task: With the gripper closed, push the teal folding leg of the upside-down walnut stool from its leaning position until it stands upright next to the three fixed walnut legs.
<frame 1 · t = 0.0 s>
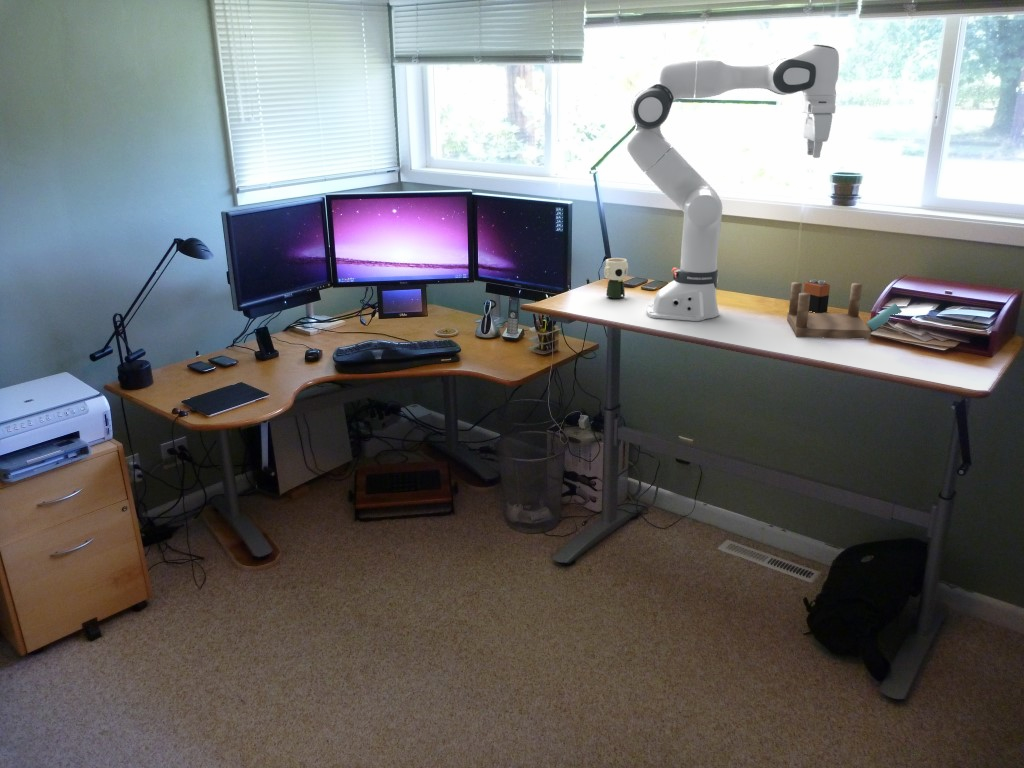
hand: (813, 156, 243), 48 cm above the table, tool pointing down, fingers open, 8 cm apart
battery: (814, 311, 265), on the table
folding leg: (884, 317, 235), point 6 cm above the table, hinge at 50.0°
stool: (826, 329, 245), on the table
character mug: (615, 298, 286), on the table
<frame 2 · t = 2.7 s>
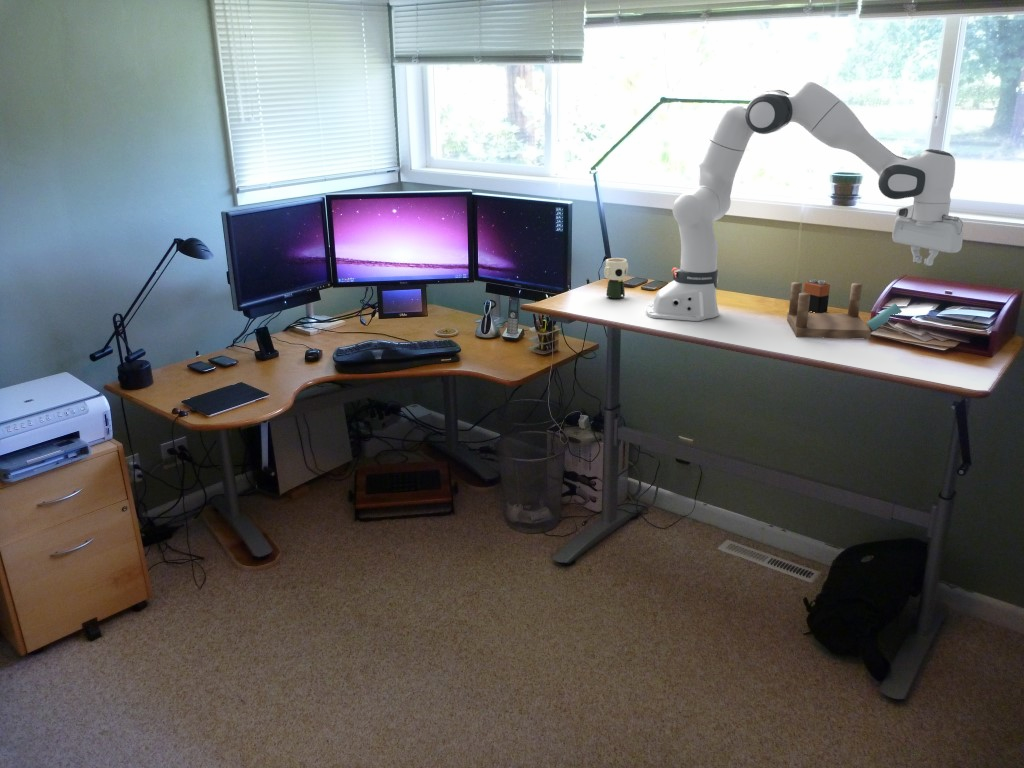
hand: (922, 263, 228), 21 cm above the table, tool pointing down, fingers closed
nothing on the table moved.
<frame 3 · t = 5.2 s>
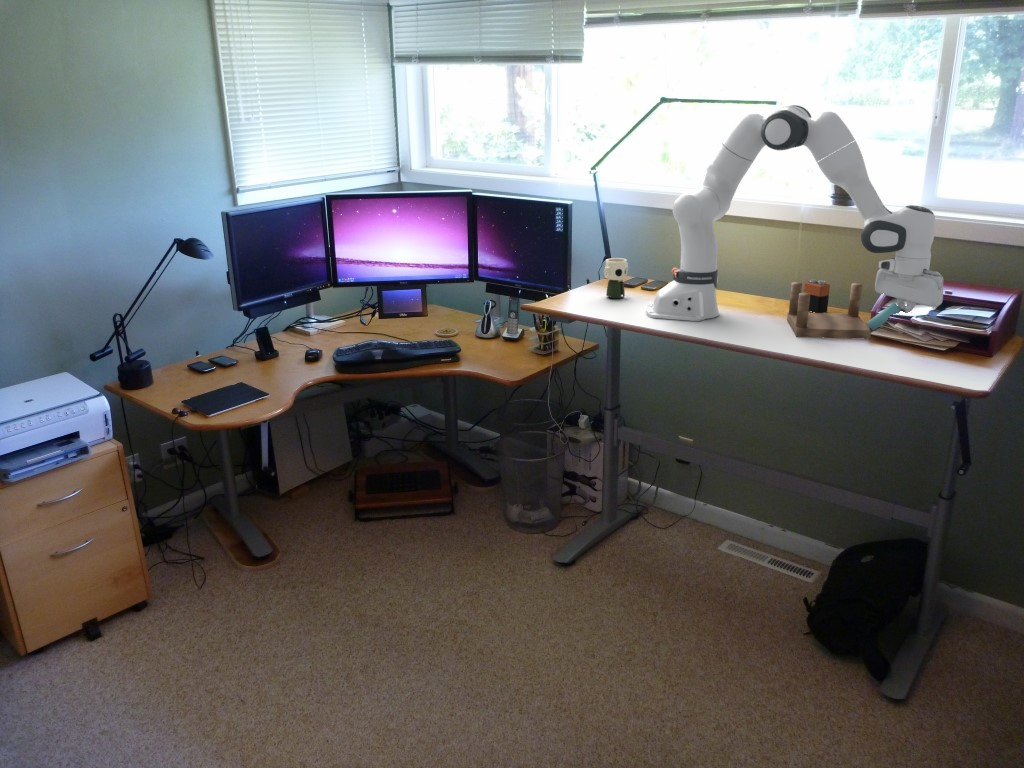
hand: (904, 315, 234), 7 cm above the table, tool pointing down, fingers closed
folding leg: (883, 316, 235), point 6 cm above the table, hinge at 47.6°, touching gripper
everything else where it was.
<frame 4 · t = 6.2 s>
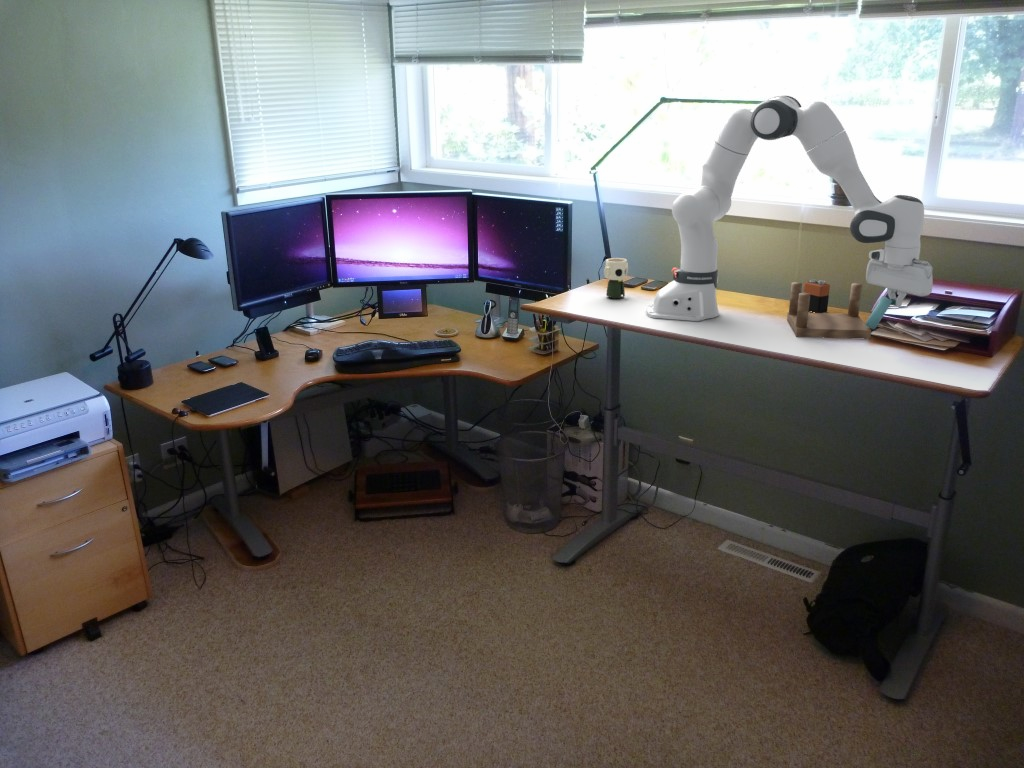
hand: (895, 305, 233), 9 cm above the table, tool pointing down, fingers closed
folding leg: (878, 312, 234), point 7 cm above the table, hinge at 23.9°, touching gripper
everything else where it was.
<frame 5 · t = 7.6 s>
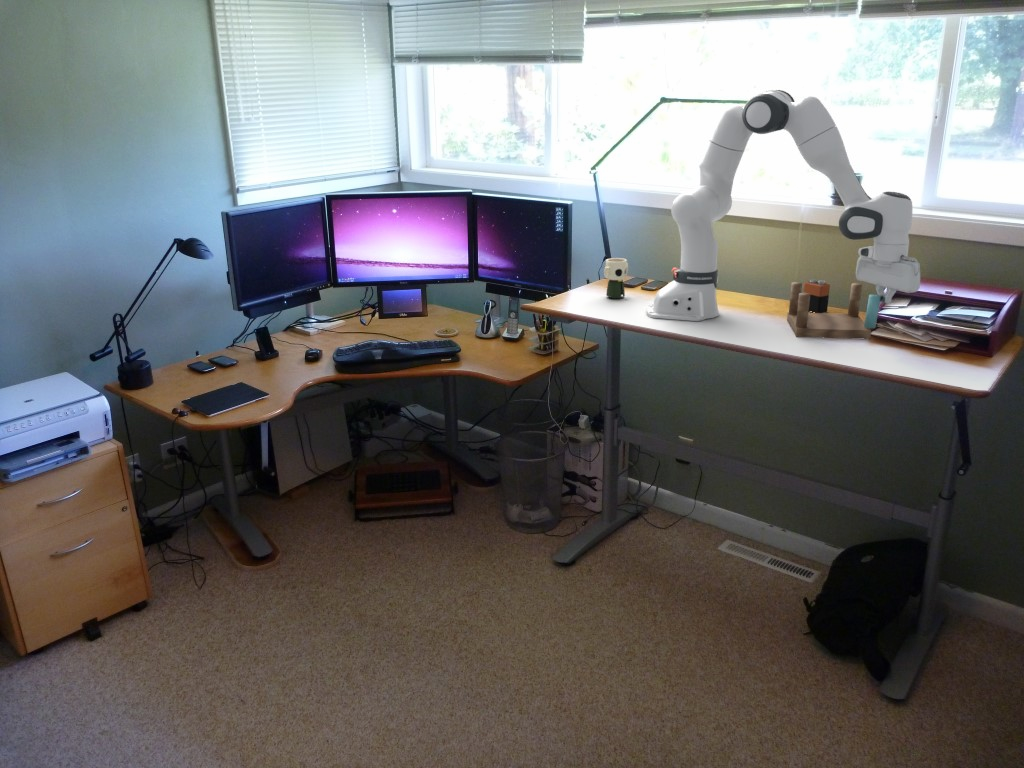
hand: (884, 302, 233), 10 cm above the table, tool pointing down, fingers closed
folding leg: (872, 311, 235), point 7 cm above the table, hinge at 1.8°
everything else where it was.
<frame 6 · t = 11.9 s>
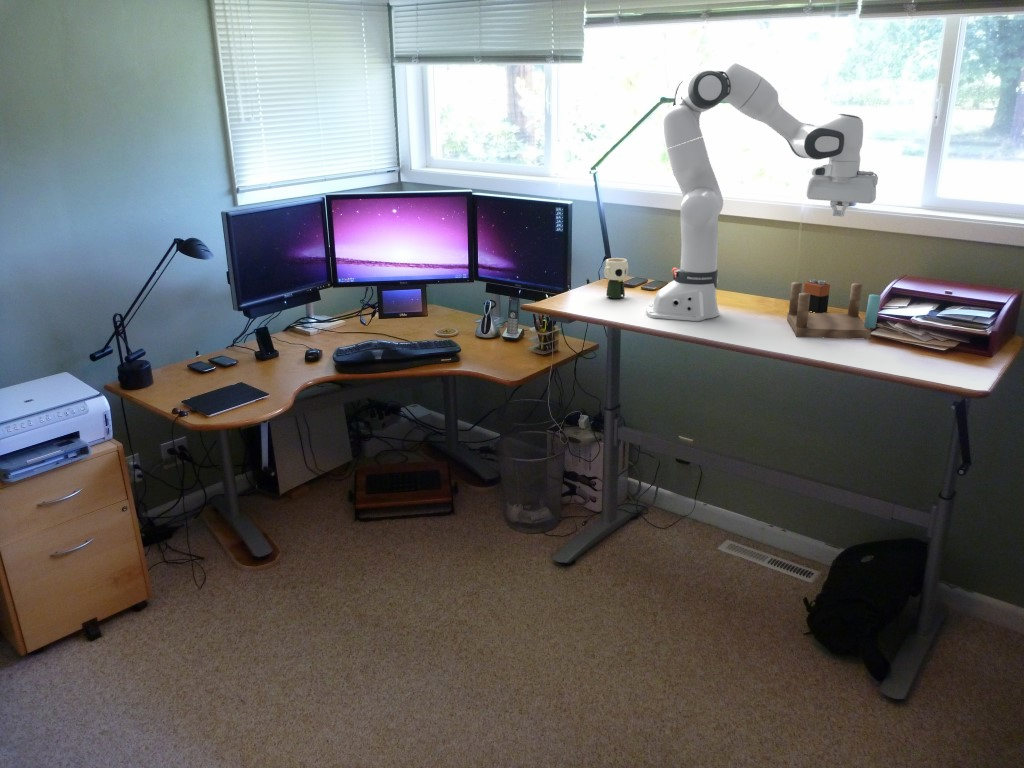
hand: (838, 216, 259), 29 cm above the table, tool pointing down, fingers closed
nothing on the table moved.
at the end: folding leg at +2° (first picture: +50°); battery moved 0.2 cm from its start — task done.
